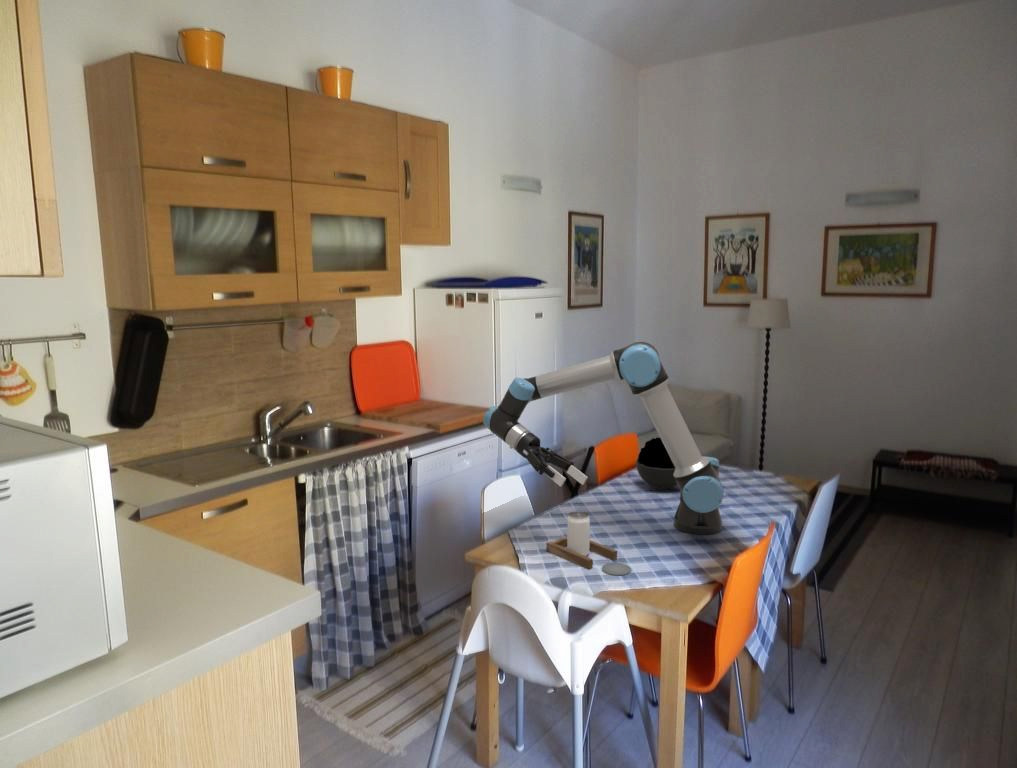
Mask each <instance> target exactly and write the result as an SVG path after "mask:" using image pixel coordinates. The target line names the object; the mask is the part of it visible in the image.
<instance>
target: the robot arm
mask: <svg viewBox="0 0 1017 768" xmlns="http://www.w3.org/2000/svg"><path fill="white" fill-rule="evenodd" d="M613 379H618V380H620V381H621V380H624V381H625V382H626V383H627V385H628V387H629V389H630V391H631V393H632V395H633V396H635V397H638V398H640V400H641V402H642V404H643V406H644V408H645V410H646V412H647V414H648V415H649V417H650V419H651V422H652V424H653V425H654V428H655V431H656V433H657V434H658V437H659V438H661V440H662V442H663V444H664V446H665V448H666V450H667V452H668V454H669V456H670V458H671V460H672V462H673V464H674V466H675V471H674V474H673V475H674V478H675V480H676V482H677V484H678V485H677V486H678V488H679V490H680V494H679V495H680V496H679V498H680V499H679V504H678V506H677V509H676V511H675V515H674V517H673V526H674V527H675V528H676V529H677V530H679V531H681V532H684V533H689V534H695V535H712V534H717V533H719V532H721V531H722V530H723V520H722V517H721V512H720V509H719V506H720V505H721V504H722V502H723V500H724V499H723V498H724V494H725V493H724V492H725V491H724V487H723V485H722V482H721V479H720V476H719V475H720V473H719V472H720V461H719V459H718V458H716V457H712V456H703V455H702V454H701V452H700V450H699V448H698V446H697V444H696V442H695V440H694V438H693V435H692V434H691V431H690V429H689V427H688V425H687V423H686V422H685V419H684V418H683V415H682V414H681V413H682V412H681V411H680V410H679V408H678V406H677V403H676V401H675V399H674V397H673V395H672V393H671V391H670V389H669V386H668V382H669V379H670V378H669V376H668V373H667V371H666V369H665V367H664V366H663V364H662V361H661V359H660V354H659V352H658V350H657V348H655V347H654V346H653V345H652V344H651V343H648V342H645V341H637V342H633V343H630V344H628V345H627V346H624V347H621V348H618V349H616V350H612V351H611V352H610V354H608V355H606V356H603V357H599V358H595V359H591V360H589V361H585V362H581V363H577V364H574V365H571V366H566V367H564V368H560V369H556V370H552V371H549V372H546V373H543V374H539V375H536V376H533V377H529V378H527V377H526V378H522V377H514V379H513V380H512V382H511V383H510V384H509V385H508V388H507V390H506V392H505V394H504V397H503V398H502V400H501V402H500V403H499V404H498V406H497V405H494V406H491V407H490V408H488V410H487V411H486V412H485V413H484V415H483V418H482V422H483V425H484V426H485V427H486V428H487V429H488V430H490V432H491V433H492V434H494V435H495V436H497V437H498V439H500V440H502V441H503V442H504V443H505V444H507V445H508V446H509V448H510V450H511V449H512V450H514V451H516V452H517V453H518V454H519V455H520V456H522V458H524V459H526V460H527V461H528V463H529V464H530V465H531V467H532V468H533V469H534V470H535V472H537V473H538V474H539V475H541V476H543V474H544V475H545V476H547V477H548V478H549V479H550V480H552V481H553V482H554V483H555V484H556V485H558V487H562V486H563V485H564V483H565V482H566V479H567V478H566V477H565V476H563V475H562V474H561V473H560V472H559V471H557V470H556V469H555V468H553V467H552V466H551V465H554V466H556V467H557V468H560V469H562V470H564V471H566V473H567V474H568V475H569V476H570V477H572V478H573V479H574V480H576V481H577V482H578V483H579V484H581V485H582V486H584V485H585V484H586V481H587V480H588V476H587V475H585V474H584V473H583V472H582V471H581V470H579V469H578V468H577V467H576V466H574V464H575V462H573V461H570V460H569V459H567V458H566V457H564V456H562V455H561V454H559V453H557V452H555V451H553V450H552V449H550V448H549V447H543V446H541V439H540V437H538V436H537V435H535V434H534V433H533V432H531V430H530V429H528V428H527V427H525V426H524V425H523V424H521V423H520V422H519V419H520V417H521V416H522V414H523V412H524V411H525V408H526V407H527V405H529V403H531V402H533V401H536V400H541V399H545V398H548V397H550V396H555V395H558V394H559V395H560V394H563V393H567V392H570V391H573V390H577V389H580V388H584V387H588V386H592V385H596V384H598V383H602V382H603V383H604V382H606V381H611V380H613ZM548 464H551V465H548Z"/></svg>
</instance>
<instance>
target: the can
mask: <svg viewBox="0 0 1017 768" xmlns="http://www.w3.org/2000/svg"><path fill="white" fill-rule="evenodd" d="M566 531H567V533H566V536H567V547H566V548H567V549H569V550H571V551H574V552H576V553H579V554H581V555H583V556H586V557H588V555H590V551H589V546H590V540H591V539H590V537H591V536H590V533H591V520H590V517H589V513H588V512H586V511H580V510H577V511H576V510H575V511H571V512H569V513H568V517H567V529H566Z"/></svg>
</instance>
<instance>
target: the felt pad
mask: <svg viewBox="0 0 1017 768" xmlns="http://www.w3.org/2000/svg"><path fill="white" fill-rule="evenodd" d="M601 571H602V572H603V573H605V574H607V575H609V576H610V575H611V576H618V577H619V576H621V577H622V576H626V575H629V574H630V573H631V572H632V568H631V567H630V566H629V565H628V564H625V563H622V562H608V563H605V564H603V565H602V566H601Z"/></svg>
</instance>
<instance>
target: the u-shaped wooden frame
mask: <svg viewBox="0 0 1017 768" xmlns="http://www.w3.org/2000/svg"><path fill="white" fill-rule="evenodd" d="M545 551H546V552H549V553H550V554H553V555H555V556H557V557H558V558H559V557H560V558H562V559H564V560H567V561H568V562H570V563H573V564H575V565H577V566H580V567H583V568H584V569H587V570H591V569H593V563H594V559H592V558H590V557H588V556H583V555H581V554H579V553H576V552H574V551H571V550H569V549H567V535H566V536H563V537H561V538H557V539H554V540H550V541H547V542H546V549H545ZM589 552H592V553H595V554H597V555H599V556H602V557H604V558H607V559H609V560H612V561H615V560H618V550H616V549H614V548H611V547H608V546H606V545H604V544H602V543H601V544H600V543H599V542H596V541H594V540H591V539H590V546H589Z"/></svg>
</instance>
